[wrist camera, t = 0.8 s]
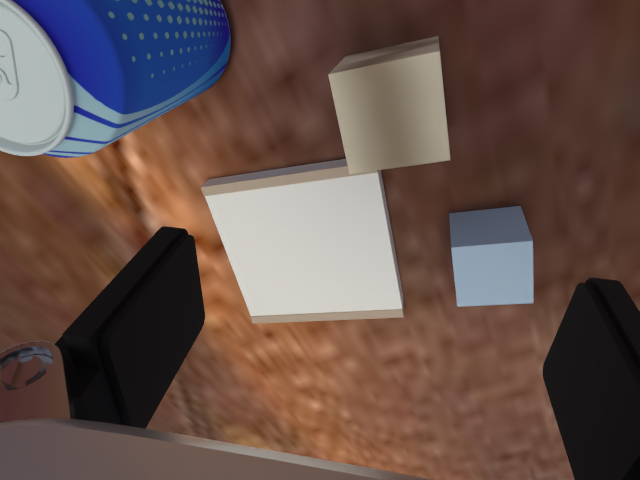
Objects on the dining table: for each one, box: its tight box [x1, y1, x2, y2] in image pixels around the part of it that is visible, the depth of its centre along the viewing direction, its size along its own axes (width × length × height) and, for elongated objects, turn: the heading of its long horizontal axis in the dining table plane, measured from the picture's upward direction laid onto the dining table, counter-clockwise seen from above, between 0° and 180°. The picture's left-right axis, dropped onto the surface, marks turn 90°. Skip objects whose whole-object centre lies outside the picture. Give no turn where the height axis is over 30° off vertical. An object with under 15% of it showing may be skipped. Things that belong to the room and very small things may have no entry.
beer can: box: [0, 0, 231, 158], centre depth 25 cm, size 8×8×16 cm
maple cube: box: [328, 36, 450, 174], centre depth 28 cm, size 6×6×6 cm
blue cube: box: [449, 206, 533, 307], centre depth 33 cm, size 5×5×5 cm
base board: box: [201, 159, 405, 324], centre depth 38 cm, size 14×14×2 cm
